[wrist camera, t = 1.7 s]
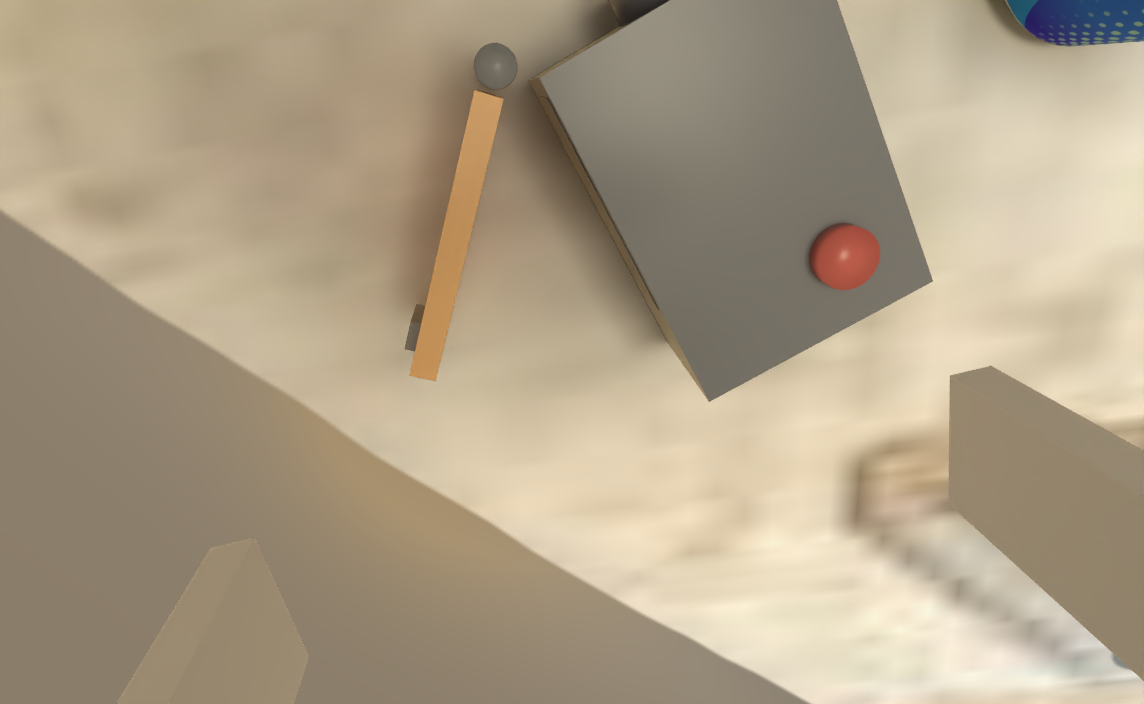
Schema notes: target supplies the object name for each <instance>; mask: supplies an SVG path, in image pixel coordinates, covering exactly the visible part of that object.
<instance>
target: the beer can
mask: <svg viewBox="0 0 1144 704" xmlns="http://www.w3.org/2000/svg"><path fill="white" fill-rule="evenodd" d="M1005 2H1006V4H1007V5H1008V7H1009V8H1010V10H1011V12H1012V14H1013V15H1014V17H1015V18H1016V20H1017V21H1018V22H1019V23H1020V25H1021V26H1022V27H1023V28H1024V29H1026V30H1027V31H1028V32H1029V33H1030V34H1032V35H1033V36H1035V37H1037V38H1039V39H1040V40H1043V41H1045V42H1048V43H1051V44H1056V45H1061V46H1084V45H1098V44H1112V43H1126V42H1140V41H1144V0H1005Z"/></svg>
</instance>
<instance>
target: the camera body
mask: <svg viewBox="0 0 1144 704" xmlns="http://www.w3.org/2000/svg"><path fill="white" fill-rule="evenodd" d="M609 2H610V4H611V6H612V9H613V11H614V13H615V15H616V17H617V19H618V21H619V24H620V26H619V27H617V28H615V29H614V30H612V31H610V32H609V33H607V34H605V35H604V36H602V37H600V38H598V39H597V40H595V41H593V42H592V43H590V44H588V45H587V46H585V47H583V48H582V49H580V50H578V51H577V52H575V53H573V54H572V55H570V56H568V57H567V58H565V59H563V60H562V61H560V62H558V63H557V64H555V65H553V66H552V67H550V68H548V69H546V70H545V71H543V72H541V73H540V74H538V75H536V76H535V77H533V78H531V79H530V80H529V82H530V84H531V86H532V88H533V90H534V92H535V94H536V95H537V97H538V99H539V101H540V103H541V105H542V107H543V109H544V110H545V112H546V114H547V116H548V118H549V120H550V122H551V124H552V126H553V127H554V129H555V131H556V133H557V135H558V137H559V139H560V141H561V142H562V144H563V146H564V148H565V150H566V152H567V154H568V156H569V158H570V159H571V161H572V163H573V165H574V167H575V169H576V171H577V173H578V174H579V176H580V178H581V180H582V182H583V184H584V186H585V188H586V190H587V191H588V193H589V195H590V197H591V199H592V201H593V203H594V205H595V206H596V208H597V210H598V212H599V214H600V216H601V218H602V220H603V222H604V223H605V225H606V227H607V229H608V231H609V233H610V235H611V237H612V239H613V240H614V242H615V244H616V246H617V248H618V250H619V252H620V254H621V255H622V257H623V259H624V261H625V263H626V265H627V267H628V269H629V271H630V272H631V274H632V276H633V278H634V280H635V282H636V284H637V286H638V287H639V289H640V291H641V293H642V295H643V297H644V299H645V301H646V303H647V304H648V306H649V308H650V310H651V312H652V314H653V316H654V318H655V319H656V321H657V323H658V325H659V327H660V329H661V331H662V333H663V335H664V336H665V338H666V340H667V342H668V344H669V345H670V347H671V348H672V349H673V351H674V352H675V354H676V355H677V357H678V358H679V359H680V361H681V362H682V364H683V365H684V367H685V368H686V369H687V371H688V372H689V374H690V375H691V376H692V378H693V379H694V381H695V382H696V384H697V385H698V386H699V388H700V389H701V391H702V392H703V394H704V395H705V396H706V398H707V399H708V401H709V402H710V401H712V400H713V399H715V398H717V397H719V396H721V395H723V394H725V393H726V392H728V391H730V390H732V389H734V388H736V387H738V386H739V385H741V384H743V383H745V382H747V381H749V380H751V379H752V378H754V377H756V376H758V375H760V374H762V373H764V372H765V371H767V370H769V369H771V368H773V367H775V366H777V365H778V364H780V363H782V362H784V361H786V360H788V359H789V358H791V357H793V356H795V355H797V354H799V353H801V352H802V351H804V350H806V349H808V348H810V347H812V346H814V345H815V344H817V343H819V342H821V341H823V340H825V339H827V338H828V337H830V336H832V335H834V334H836V333H838V332H840V331H841V330H843V329H845V328H847V327H849V326H851V325H853V324H854V323H856V322H858V321H860V320H862V319H864V318H866V317H867V316H869V315H871V314H873V313H875V312H877V311H879V310H880V309H882V308H884V307H886V306H888V305H890V304H892V303H893V302H895V301H897V300H899V299H901V298H903V297H905V296H906V295H908V294H910V293H912V292H914V291H916V290H918V289H919V288H921V287H923V286H925V285H927V284H929V283H931V282H932V281H933V280H932V277H931V274H930V271H929V268H928V265H927V262H926V259H925V257H924V254H923V251H922V248H921V245H920V242H919V239H918V236H917V233H916V230H915V227H914V224H913V221H912V219H911V216H910V213H909V210H908V207H907V204H906V201H905V198H904V195H903V192H902V189H901V186H900V183H899V181H898V178H897V175H896V172H895V169H894V166H893V163H892V160H891V157H890V154H889V151H888V148H887V146H886V143H885V140H884V137H883V134H882V131H881V128H880V125H879V122H878V119H877V116H876V113H875V110H874V108H873V105H872V102H871V99H870V96H869V93H868V90H867V87H866V84H865V81H864V78H863V75H862V72H861V70H860V67H859V64H858V61H857V58H856V55H855V52H854V49H853V46H852V43H851V40H850V37H849V34H848V32H847V29H846V26H845V23H844V20H843V17H842V14H841V11H840V8H839V5H838V2H837V0H609Z"/></svg>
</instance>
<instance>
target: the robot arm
mask: <svg viewBox="0 0 1144 704" xmlns="http://www.w3.org/2000/svg"><path fill="white" fill-rule="evenodd" d="M948 504H949V505H950V506H952V507H953V508H954V509H955V510H956V511H957V512H958V513H959V514H960V515H962V516H963V517H964V518H965V519H966V520H967V521H968V522H969V523H970V524H971V525H973V526H974V527H975V528H976V529H977V530H978V531H979V532H980V533H981V534H982V535H984V536H985V537H986V538H987V539H988V540H989V541H990V542H991V543H992V544H993V545H995V546H996V547H997V548H998V549H999V550H1000V551H1001V552H1002V553H1003V554H1004V555H1006V556H1007V557H1008V558H1009V559H1010V560H1011V561H1012V562H1013V563H1014V564H1016V565H1017V566H1018V567H1019V568H1020V569H1021V570H1022V571H1023V572H1024V573H1025V574H1027V575H1028V576H1029V577H1030V578H1031V579H1032V580H1033V581H1034V582H1035V583H1036V584H1038V585H1039V586H1040V587H1041V588H1042V589H1043V590H1044V591H1045V592H1046V593H1047V594H1049V595H1050V596H1051V597H1052V598H1053V599H1054V600H1055V601H1056V602H1057V603H1058V604H1060V605H1061V606H1062V607H1063V608H1064V609H1065V610H1066V611H1067V612H1068V613H1070V614H1071V615H1072V616H1073V617H1074V618H1075V619H1076V620H1077V621H1078V622H1079V623H1081V624H1082V625H1083V626H1084V627H1085V628H1086V629H1087V630H1088V631H1089V632H1090V633H1092V634H1093V635H1094V636H1095V637H1096V638H1097V639H1098V640H1099V641H1100V642H1101V643H1103V644H1104V645H1105V646H1106V647H1107V648H1108V649H1109V650H1110V651H1111V652H1112V653H1114V654H1115V655H1116V656H1117V657H1118V658H1119V659H1120V660H1121V661H1122V662H1124V663H1125V664H1126V665H1127V666H1128V667H1129V668H1130V669H1131V670H1132V671H1133V672H1135V673H1136V674H1137V675H1138V676H1139V677H1140V678H1141V679H1142V680H1143V681H1144V451H1143V450H1141V449H1140V448H1138V447H1136V446H1134V445H1132V444H1131V443H1129V442H1127V441H1125V440H1123V439H1122V438H1120V437H1118V436H1116V435H1114V434H1113V433H1111V432H1109V431H1107V430H1105V429H1104V428H1102V427H1100V426H1098V425H1096V424H1095V423H1093V422H1091V421H1089V420H1087V419H1086V418H1084V417H1082V416H1080V415H1078V414H1077V413H1075V412H1073V411H1071V410H1069V409H1068V408H1066V407H1064V406H1062V405H1060V404H1059V403H1057V402H1055V401H1053V400H1051V399H1050V398H1048V397H1046V396H1044V395H1042V394H1041V393H1039V392H1037V391H1035V390H1033V389H1032V388H1030V387H1028V386H1026V385H1024V384H1023V383H1021V382H1019V381H1017V380H1015V379H1014V378H1012V377H1010V376H1008V375H1006V374H1005V373H1003V372H1001V371H999V370H997V369H996V368H994V367H992V366H989V367H985V368H981V369H976V370H972V371H968V372H963V373H959V374H955V375H951V376H950V417H949V500H948ZM308 658H309V656H308V653H307V651H306V649H305V647H304V645H303V642H302V640H301V638H300V636H299V634H298V632H297V629H296V627H295V625H294V623H293V620H292V618H291V616H290V614H289V612H288V609H287V607H286V605H285V603H284V601H283V599H282V596H281V594H280V592H279V590H278V588H277V585H276V583H275V581H274V579H273V577H272V574H271V572H270V570H269V568H268V566H267V563H266V561H265V559H264V557H263V555H262V552H261V550H260V548H259V546H258V544H257V542H256V539H255V538H251V539H246V540H242V541H238V542H234V543H230V544H225V545H221V546H217V547H212V548H210V550H209V551H208V553H207V555H206V556H205V558H204V560H203V561H202V563H201V565H200V566H199V568H198V570H197V571H196V573H195V575H194V576H193V578H192V579H191V581H190V583H189V584H188V586H187V588H186V589H185V591H184V593H183V594H182V596H181V598H180V599H179V601H178V603H177V604H176V606H175V608H174V609H173V611H172V613H171V615H170V616H169V618H168V619H167V621H166V623H165V624H164V626H163V628H162V629H161V631H160V632H159V634H158V636H157V637H156V639H155V641H154V642H153V644H152V646H151V647H150V649H149V651H148V653H147V654H146V655H145V657H144V659H143V660H142V662H141V664H140V665H139V667H138V669H137V670H136V672H135V674H134V676H133V677H132V679H131V680H130V682H129V684H128V685H127V687H126V688H125V690H124V692H123V694H122V695H121V697H120V699H119V700H118V702H117V703H116V704H294V702H295V699H296V696H297V692H298V689H299V686H300V683H301V680H302V677H303V674H304V670H305V667H306V664H307V660H308Z"/></svg>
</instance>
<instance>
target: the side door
mask: <svg viewBox="0 0 1144 704" xmlns="http://www.w3.org/2000/svg"><path fill="white" fill-rule="evenodd" d="M474 70H475V73H476V76H477V78H478V79H479V81H480V82H481V83H482V84H483V85H485V86H486V87H488V88H491V89H502V88H505V87H507V86H508V85H509V84H510V83H511V82H512V81H513V80H514V78H515V76H516V72H517V62H516V58H515V56H514V54H513V53H512V51H511V50H510V49H509V48H507V47H506V46H504V45H502V44H499V43H491V44H487V45H485V46H484V47H482V48H481V49H480V50H479V51H478V53H477V55H476V57H475V61H474ZM502 104H503V98H502V97H500V96H496V95H493V94H490V93H486V92H483V91H480V90H474V94H473V98H472V103H471V107H470V111H469V116H468V120H467V125H466V129H465V133H464V138H463V142H462V147H461V151H460V155H459V160H458V164H457V169H456V173H455V178H454V182H453V186H452V191H451V195H450V200H449V204H448V208H447V213H446V217H445V222H444V226H443V230H442V235H441V239H440V244H439V248H438V252H437V257H436V261H435V266H434V270H433V274H432V279H431V283H430V288H429V292H428V296H427V301H426V305H425V306H422V305H418V304H417V305H416V308H415V311H414V314H413V317H412V320H411V323H410V327H409V332H408V336H407V341H406V345H405V349H406V350H411V351H415V354H414V358H413V362H412V367H411V371H410V376H414V377H418V378H423V379H428V380H432V381H436V377H437V373H438V369H439V365H440V361H441V357H442V352H443V348H444V344H445V340H446V336H447V332H448V328H449V323H450V319H451V315H452V311H453V307H454V303H455V299H456V294H457V290H458V286H459V282H460V278H461V274H462V270H463V265H464V261H465V257H466V253H467V249H468V245H469V240H470V236H471V232H472V228H473V224H474V220H475V216H476V211H477V207H478V203H479V199H480V195H481V191H482V187H483V182H484V178H485V174H486V170H487V166H488V162H489V158H490V153H491V149H492V145H493V141H494V137H495V133H496V128H497V124H498V120H499V116H500V112H501V108H502Z"/></svg>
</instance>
